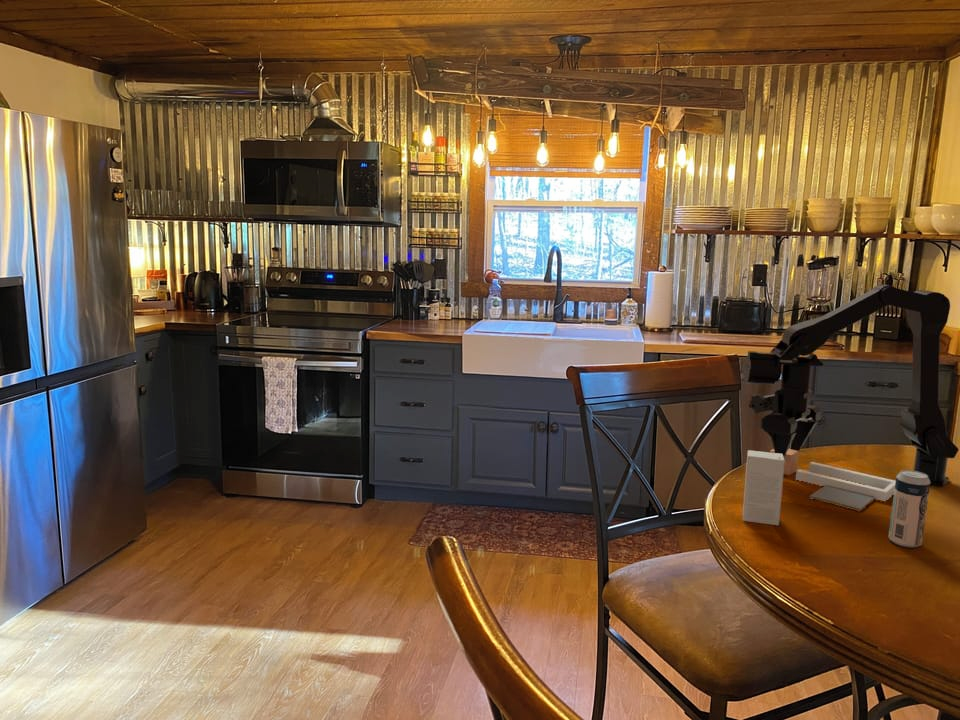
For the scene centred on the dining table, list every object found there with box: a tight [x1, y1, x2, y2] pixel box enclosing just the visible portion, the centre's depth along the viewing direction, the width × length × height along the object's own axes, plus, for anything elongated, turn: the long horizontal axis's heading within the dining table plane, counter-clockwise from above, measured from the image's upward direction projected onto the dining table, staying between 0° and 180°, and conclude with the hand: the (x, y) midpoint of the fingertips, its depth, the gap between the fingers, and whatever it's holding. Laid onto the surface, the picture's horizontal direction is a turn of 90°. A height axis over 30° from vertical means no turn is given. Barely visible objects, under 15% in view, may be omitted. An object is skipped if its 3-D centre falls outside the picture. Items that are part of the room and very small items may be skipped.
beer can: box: [887, 469, 931, 549], centre depth 117 cm, size 5×5×12 cm
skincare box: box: [742, 449, 785, 526], centre depth 126 cm, size 6×4×12 cm
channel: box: [795, 461, 896, 502], centre depth 145 cm, size 9×17×2 cm, turn 46°
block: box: [769, 448, 800, 476], centre depth 154 cm, size 4×4×4 cm
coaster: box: [809, 485, 875, 510], centre depth 138 cm, size 9×9×1 cm
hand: (787, 456), depth 153 cm, fingers open, 9 cm apart
